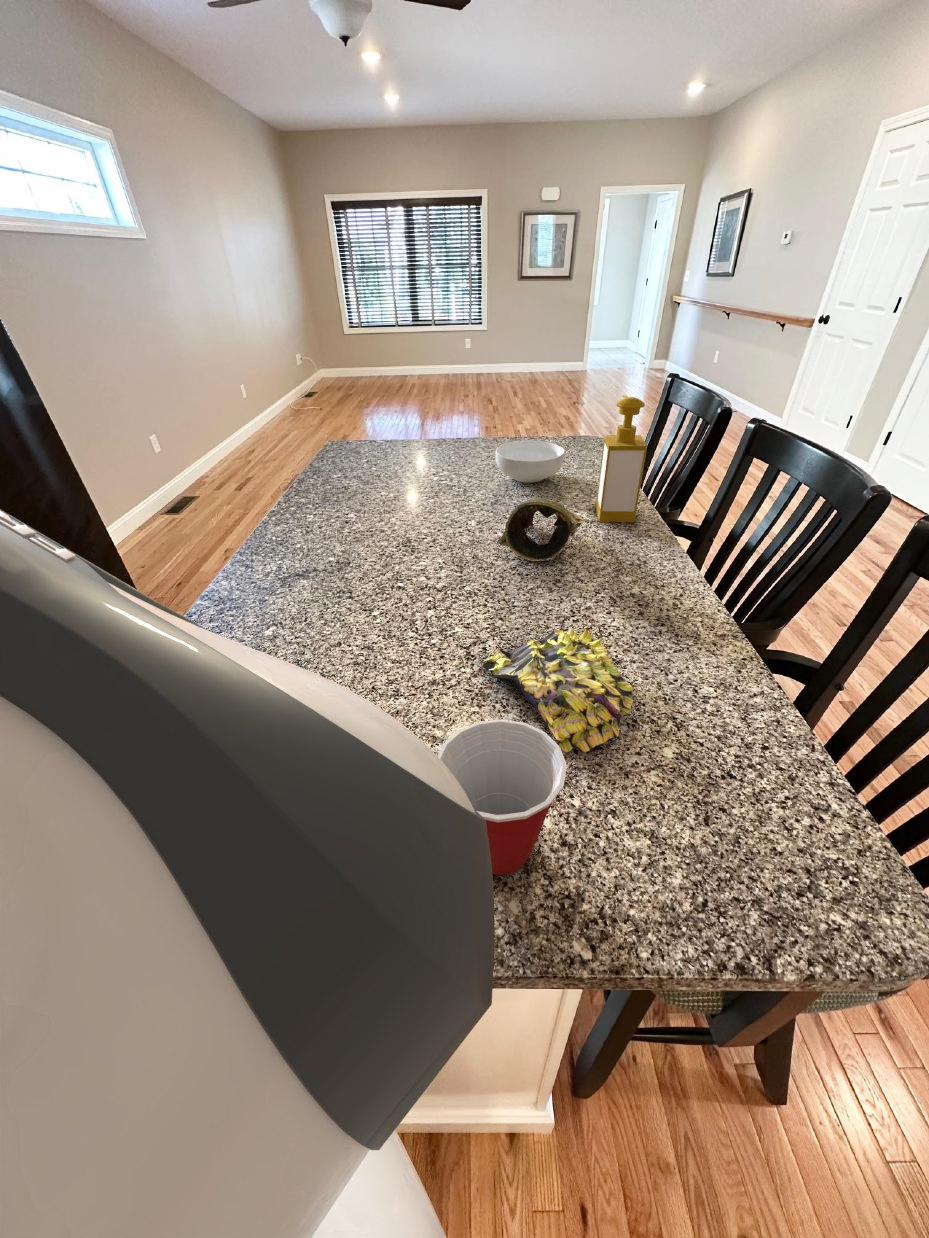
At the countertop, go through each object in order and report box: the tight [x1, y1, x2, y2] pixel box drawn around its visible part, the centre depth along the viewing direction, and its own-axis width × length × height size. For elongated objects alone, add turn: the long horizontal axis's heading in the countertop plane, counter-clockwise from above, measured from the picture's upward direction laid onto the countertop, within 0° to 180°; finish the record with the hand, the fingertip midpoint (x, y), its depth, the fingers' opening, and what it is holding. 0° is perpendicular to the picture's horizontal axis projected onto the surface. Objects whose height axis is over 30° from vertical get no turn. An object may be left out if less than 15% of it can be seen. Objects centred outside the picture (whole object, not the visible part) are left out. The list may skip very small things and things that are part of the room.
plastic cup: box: [437, 718, 568, 876], centre depth 45 cm, size 11×11×12 cm
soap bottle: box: [595, 394, 648, 523], centre depth 105 cm, size 7×13×24 cm, turn 174°
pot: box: [495, 497, 590, 562], centre depth 97 cm, size 17×11×18 cm
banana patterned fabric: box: [482, 628, 634, 753], centre depth 64 cm, size 20×16×6 cm
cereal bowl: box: [495, 439, 565, 484], centre depth 128 cm, size 17×17×7 cm
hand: (135, 829), depth 30 cm, fingers open, 8 cm apart
